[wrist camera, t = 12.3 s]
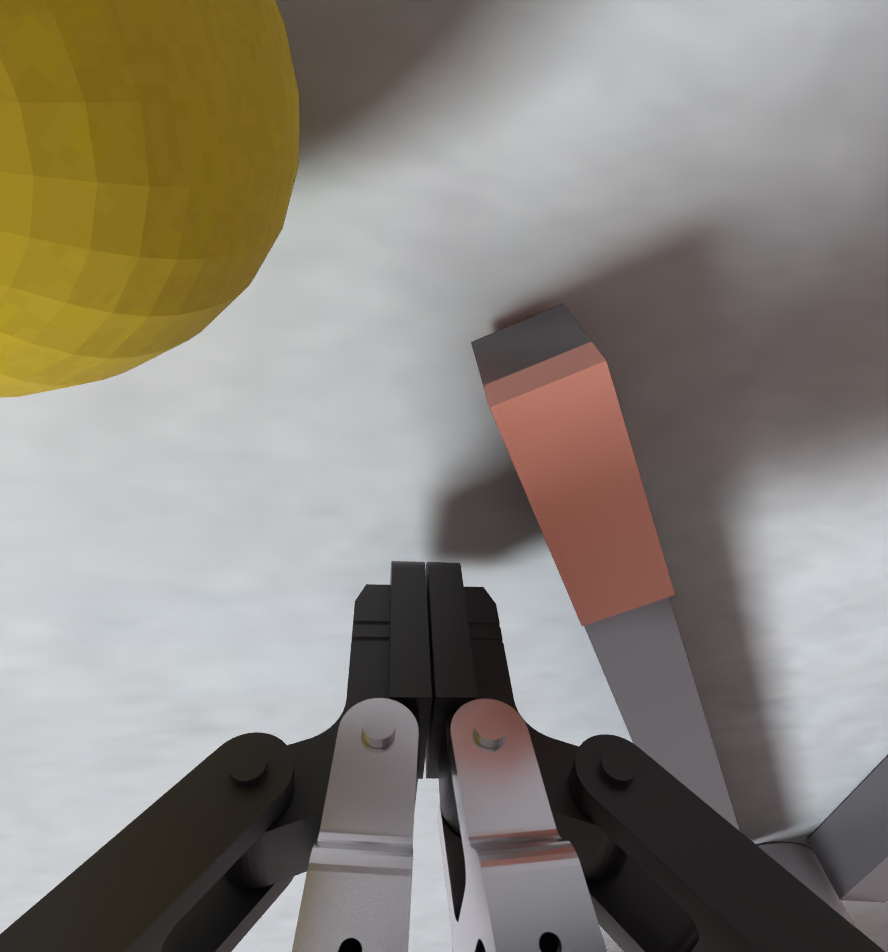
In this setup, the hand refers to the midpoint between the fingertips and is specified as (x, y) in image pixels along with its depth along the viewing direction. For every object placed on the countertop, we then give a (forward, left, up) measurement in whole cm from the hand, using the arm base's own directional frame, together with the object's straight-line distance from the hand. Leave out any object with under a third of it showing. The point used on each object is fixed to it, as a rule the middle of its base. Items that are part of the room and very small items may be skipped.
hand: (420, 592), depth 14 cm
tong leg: (-4, -7, -1) cm, 8 cm away
